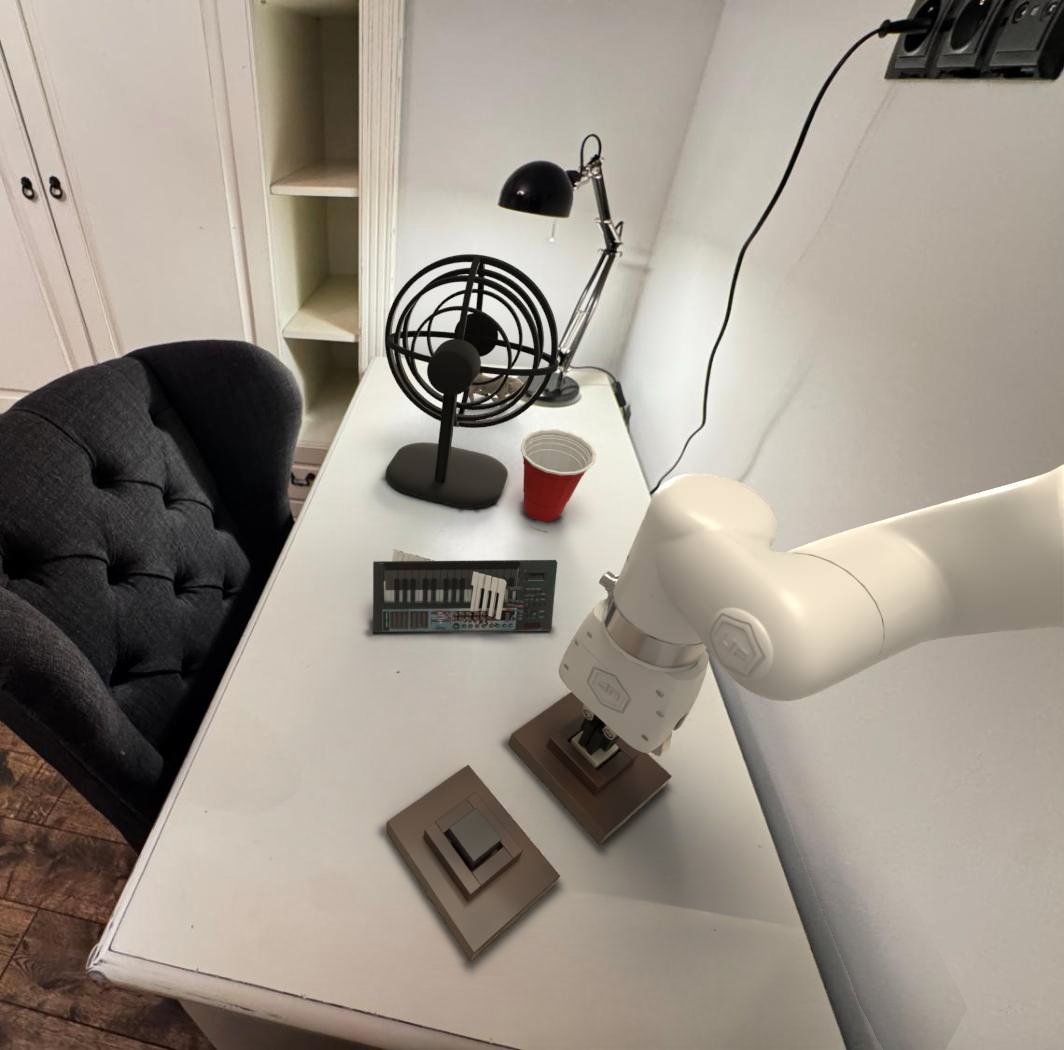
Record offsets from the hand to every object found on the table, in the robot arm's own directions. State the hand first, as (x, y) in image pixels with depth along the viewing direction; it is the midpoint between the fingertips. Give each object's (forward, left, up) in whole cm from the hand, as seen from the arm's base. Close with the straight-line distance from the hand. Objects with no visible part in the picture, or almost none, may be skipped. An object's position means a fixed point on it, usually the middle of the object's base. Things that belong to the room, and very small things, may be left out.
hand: (594, 741), depth 56 cm
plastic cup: (+32, -28, -5) cm, 43 cm away
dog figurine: (+63, -47, -5) cm, 79 cm away
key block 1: (0, +16, -4) cm, 17 cm away
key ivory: (0, 0, -2) cm, 2 cm away
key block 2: (0, 0, -4) cm, 4 cm away
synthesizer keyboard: (+22, -2, -5) cm, 22 cm away
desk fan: (+48, -22, -5) cm, 53 cm away
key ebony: (0, +16, -1) cm, 16 cm away
